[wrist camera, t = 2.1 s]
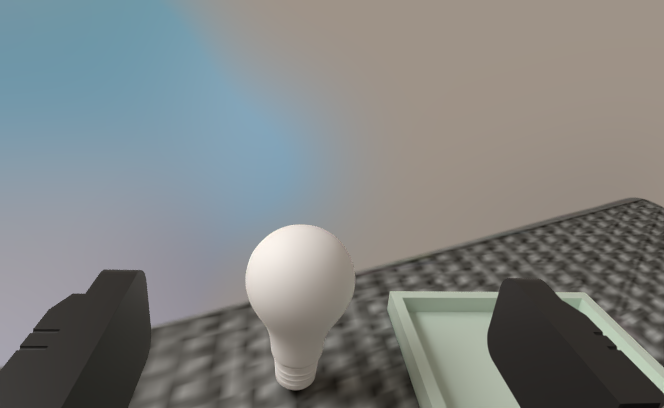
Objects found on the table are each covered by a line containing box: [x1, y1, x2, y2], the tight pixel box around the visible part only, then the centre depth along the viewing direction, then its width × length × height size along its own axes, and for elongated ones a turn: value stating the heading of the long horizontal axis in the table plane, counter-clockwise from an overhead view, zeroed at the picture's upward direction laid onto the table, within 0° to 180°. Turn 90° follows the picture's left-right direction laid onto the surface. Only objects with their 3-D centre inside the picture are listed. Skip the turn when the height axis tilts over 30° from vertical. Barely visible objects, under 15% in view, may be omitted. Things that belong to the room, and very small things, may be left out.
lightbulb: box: [246, 225, 355, 390], centre depth 25 cm, size 6×6×11 cm
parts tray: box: [387, 291, 664, 408], centre depth 28 cm, size 17×17×2 cm
